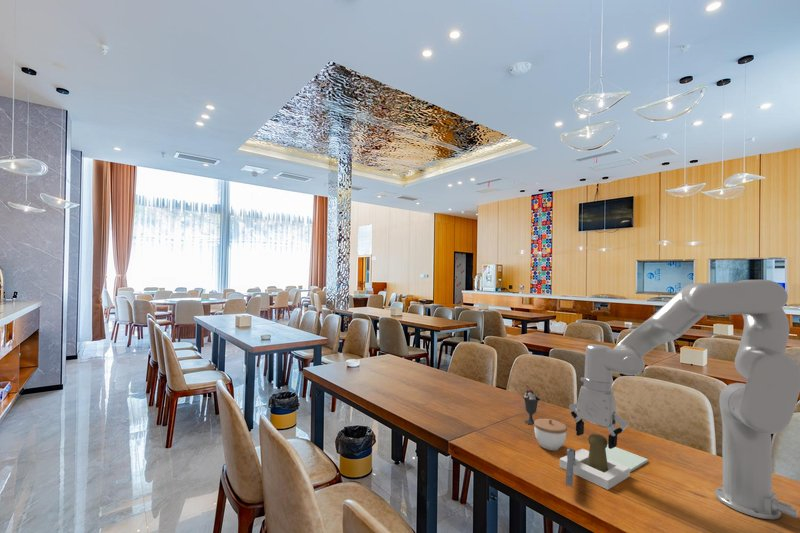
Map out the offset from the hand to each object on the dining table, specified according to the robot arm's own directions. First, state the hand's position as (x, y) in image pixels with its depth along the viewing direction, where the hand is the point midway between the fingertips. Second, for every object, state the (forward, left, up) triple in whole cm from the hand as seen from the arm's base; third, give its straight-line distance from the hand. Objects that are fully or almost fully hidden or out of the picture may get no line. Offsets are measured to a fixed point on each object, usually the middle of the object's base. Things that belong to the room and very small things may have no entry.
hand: (595, 440), depth 111 cm
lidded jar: (+17, -3, -9) cm, 20 cm away
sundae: (+34, -16, -9) cm, 39 cm away
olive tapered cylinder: (-1, 0, -9) cm, 9 cm away
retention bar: (+1, +11, -6) cm, 13 cm away
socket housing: (0, 0, -9) cm, 9 cm away
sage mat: (0, -15, -9) cm, 18 cm away
